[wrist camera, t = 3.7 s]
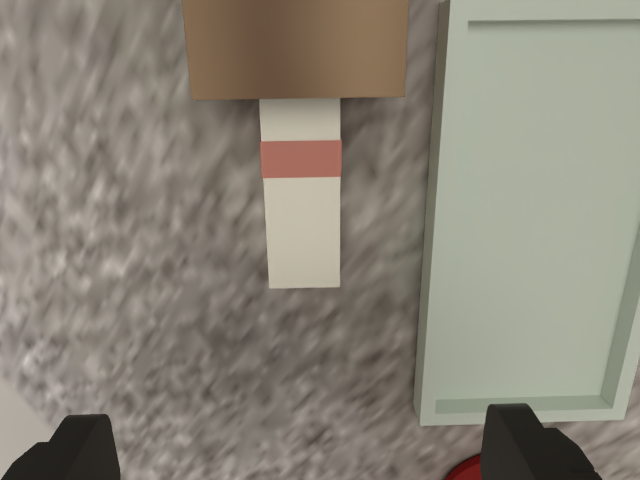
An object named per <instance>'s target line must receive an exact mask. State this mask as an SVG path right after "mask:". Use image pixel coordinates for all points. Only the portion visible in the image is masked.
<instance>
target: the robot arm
mask: <svg viewBox="0 0 640 480" xmlns="http://www.w3.org/2000/svg"><path fill="white" fill-rule="evenodd" d="M480 472H481V479H482V480H602V478H601V477H600V476H599V474H598V473H597V472H595V471H594V467H593V466H592V464H591V463H590V461H589V460H588V459H587V457H586V456H585V454H584V453H583V451H582V450H581V449H580V447H579V446H578V445H577V444H575V443H574V442H573V441H572V440H570V439H569V438H568V437H567V436H565V435H564V434H563V433H562V432H560V431H559V430H558V429H557V428H544V427H543V426H542V424H541V423H540V421H539V419H538V418H537V416H536V415H535V413H534V412H533V410H532V409H531V407H530V406H529V405H528V404H526V403H507V404H490V405H489V406H488V408H487V412H486V419H485V426H484V434H483V441H482V449H481V457H480ZM1 480H120V467H119V462H118V457H117V452H116V447H115V442H114V437H113V432H112V426H111V422H110V419H109V417H108V415H106V414H90V415H68V416H67V417H65V418H64V420H63V421H62V422H61V424H60V425H59V427H58V428H57V430H56V431H55V433H54V434H53V436H52V437H51V439H50V441H49V442H38V443H36V444H35V445H34V446H33V447H31V448H30V449H29V450H28V451H27V452H25V453H24V454H23V455H22V456H21V457H19V458H18V459H17V460H16V461H14V462H13V463H12V465H11V466H10V468H9V469H8V470H7V472H6V473H5V475H4V476H3V477H2V479H1Z"/></svg>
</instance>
